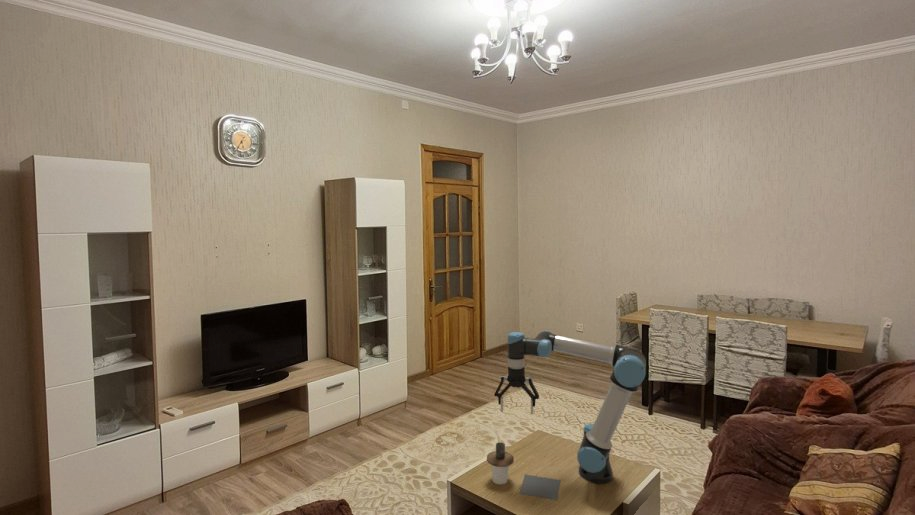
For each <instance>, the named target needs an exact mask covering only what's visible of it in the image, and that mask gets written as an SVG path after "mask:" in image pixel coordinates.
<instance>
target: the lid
mask: <svg viewBox="0 0 915 515" xmlns="http://www.w3.org/2000/svg"><path fill="white" fill-rule="evenodd" d="M514 459H515V457H514V455H513V454H512V453H510V452H507V451H506V444H505V442H496V443H495V451H491V452H488V454H487V455H486V462H487V463H488V464H489V465H491V466H492V465H493V466H496V467H506V466H509V467H510V466H511V465H512V464H514V461H515V460H514Z"/></svg>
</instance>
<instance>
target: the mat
mask: <svg viewBox="0 0 915 515" xmlns="http://www.w3.org/2000/svg"><path fill="white" fill-rule="evenodd" d="M560 484H561V479H556V478H551V477H543V476H537V475H530V474H524V477H523V480H522V483H521V487H520V490H519V493H518V494H519V495H523V496H531V497H535V498H543V499H549V500H552V501H553V500H554V501H558V497H559V490H560Z"/></svg>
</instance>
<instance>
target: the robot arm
mask: <svg viewBox="0 0 915 515" xmlns="http://www.w3.org/2000/svg"><path fill="white" fill-rule="evenodd" d="M552 351H553V352H556V353H557V352H558V353H562V354H567V355H571V356H575V357H580V358H585V359H587V360H588V359H589V360H593V361H598V362H603V363H607V364H609V365H610V366H611V367H614V368H613V370H612V372H611V375H610V377H609V380H610V383H611V384H610V386H609V389H608V391H607V394H606V396H605V398H604V401H603V402H602V405H601V407H600V410H599V412H598V414H597V416H596V418H595V421H594V423H588V424H585V425H584V426H583V430H582V431H583V436H582V440H581V444H580V445H579V446H580V447H579V449H578V450H577V452H576V454H577V455H576V460H577V462H578V464H579V466H578V474H579V476H580V477H581V478H582V479H583V480H585V481H587V482H590V483H593V484H607V483H609V481H610V482H611V481H613V478H614V476H613V475H614V473H613V468H612V464H611V462H610V452H611V450H612V448H613V443H612V441H611V440H612V438H613V435H614V433H615V431H616V429H617V427H618V424H619V422H620V420H621V418H622V416H623V413H624V411H625V409H626V407H627V405H628V402H629V401H630V398H631V395H632V394H633V393H637V392H638V390H639V387H640V385H641V384H642V383H643V381H644V380H645V377H646V374H647V372H646V371H647V369H646V368H647V359H646V356H645V355H644V354H643V352H642V351H640V350H638V349H636V348H634V347H629V346H625V345H621V344H614V345H609V344H602V343H599V342H592V341H588V340H584V339H583V340H582V339H578V338H574V337H573V338H572V337H569V336H562V335H558V334H555V333H552V331H549V330H543V331H541V332H539V333H538V334H537V335H536V337H535V338H532V337H531V338H528V337H525V333H524V332H519V331H513V332H510V333H508V334H507V366H508V367H507V376H505V375H503V374H502V376H501V377H500V381H499V385H498V386H497V388H496V390H495V392H494V394H493V395H494V396H495V397H497V399H498V400H497V401H498V405H500V413H503V411H504V396H503V395H504V394H505V393H506V392H507V391H508V390H509V389H510V387H512V388H522V390H524V392H525V393H526V394H527V395H528V397H530V415H533V413H534V408H535V407H536V400H539V399H540V395H539V392H538V390H537V388H536V386H535V385H534V382H533V378H532V377H531V376H530V377H526V376H525V374H526V373H525V369H526V368H525V356H532V357H540V358H546V357H547V358H549V357H550V356H551V355H552ZM505 382H508V383H507V384H506V386H504V388H503V389H502V390H501V388H502V386H503V384H504V383H505ZM526 382H527V384H529V387H530V389H529V387H528V386H527V385H526ZM500 390H501V391H500ZM499 392H500V393H499Z"/></svg>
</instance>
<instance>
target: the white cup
mask: <svg viewBox="0 0 915 515" xmlns="http://www.w3.org/2000/svg"><path fill="white" fill-rule="evenodd" d="M509 469H510V466H506V467H496V466H493V465H491V475H492V477H491V480H492V482H493V483H494V484H497V485H504V484H508V480H509V471H510V470H509Z"/></svg>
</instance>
